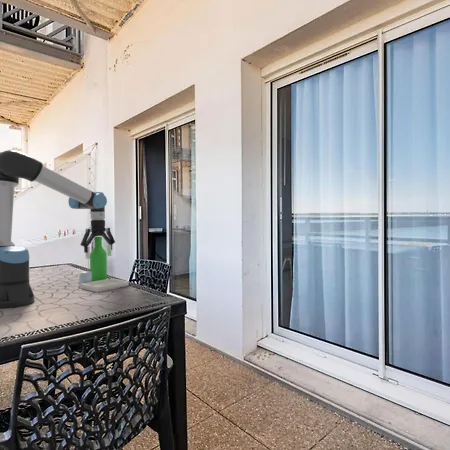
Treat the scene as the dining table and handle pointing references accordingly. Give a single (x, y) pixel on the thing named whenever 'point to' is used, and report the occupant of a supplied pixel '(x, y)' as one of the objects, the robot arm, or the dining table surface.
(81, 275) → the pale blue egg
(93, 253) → the bottle
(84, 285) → the tray
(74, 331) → the dining table surface
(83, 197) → the robot arm
